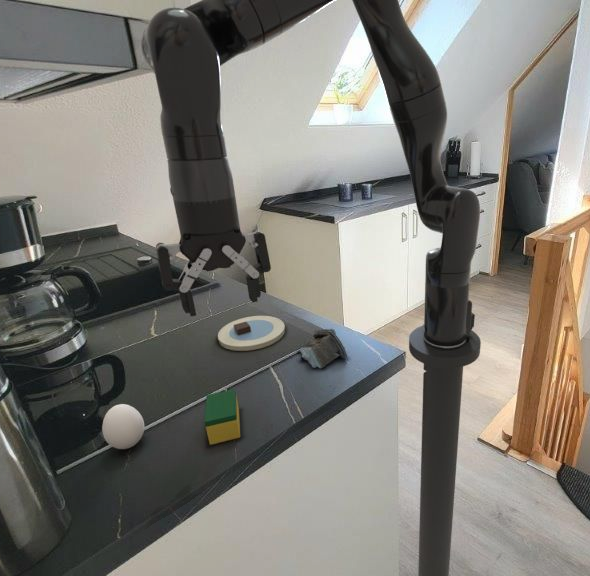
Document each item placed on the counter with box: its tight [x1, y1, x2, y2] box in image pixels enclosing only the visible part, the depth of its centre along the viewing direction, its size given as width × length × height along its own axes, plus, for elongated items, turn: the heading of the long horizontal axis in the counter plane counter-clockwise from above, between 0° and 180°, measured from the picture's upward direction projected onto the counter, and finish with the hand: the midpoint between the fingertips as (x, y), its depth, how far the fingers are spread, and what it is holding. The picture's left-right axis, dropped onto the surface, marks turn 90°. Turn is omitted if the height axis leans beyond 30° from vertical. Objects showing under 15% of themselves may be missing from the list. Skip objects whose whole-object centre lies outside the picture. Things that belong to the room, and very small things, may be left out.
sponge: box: [204, 388, 241, 446], centre depth 65 cm, size 7×4×4 cm, turn 20°
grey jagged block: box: [299, 328, 348, 369], centre depth 84 cm, size 10×7×12 cm
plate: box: [217, 315, 286, 352], centre depth 95 cm, size 15×15×1 cm
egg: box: [101, 403, 145, 450], centre depth 61 cm, size 5×5×7 cm
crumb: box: [234, 322, 251, 335], centre depth 94 cm, size 3×3×2 cm
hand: (224, 306), depth 59 cm, fingers open, 8 cm apart
